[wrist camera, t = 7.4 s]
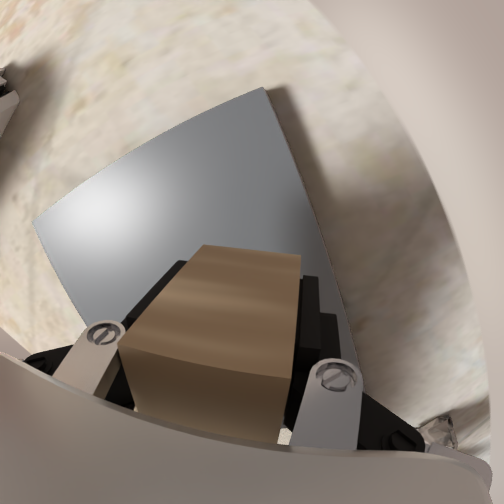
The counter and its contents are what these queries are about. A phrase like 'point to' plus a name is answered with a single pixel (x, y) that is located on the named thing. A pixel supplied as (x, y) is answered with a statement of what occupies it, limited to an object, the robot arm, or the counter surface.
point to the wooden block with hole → (218, 344)
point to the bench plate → (188, 212)
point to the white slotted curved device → (6, 103)
